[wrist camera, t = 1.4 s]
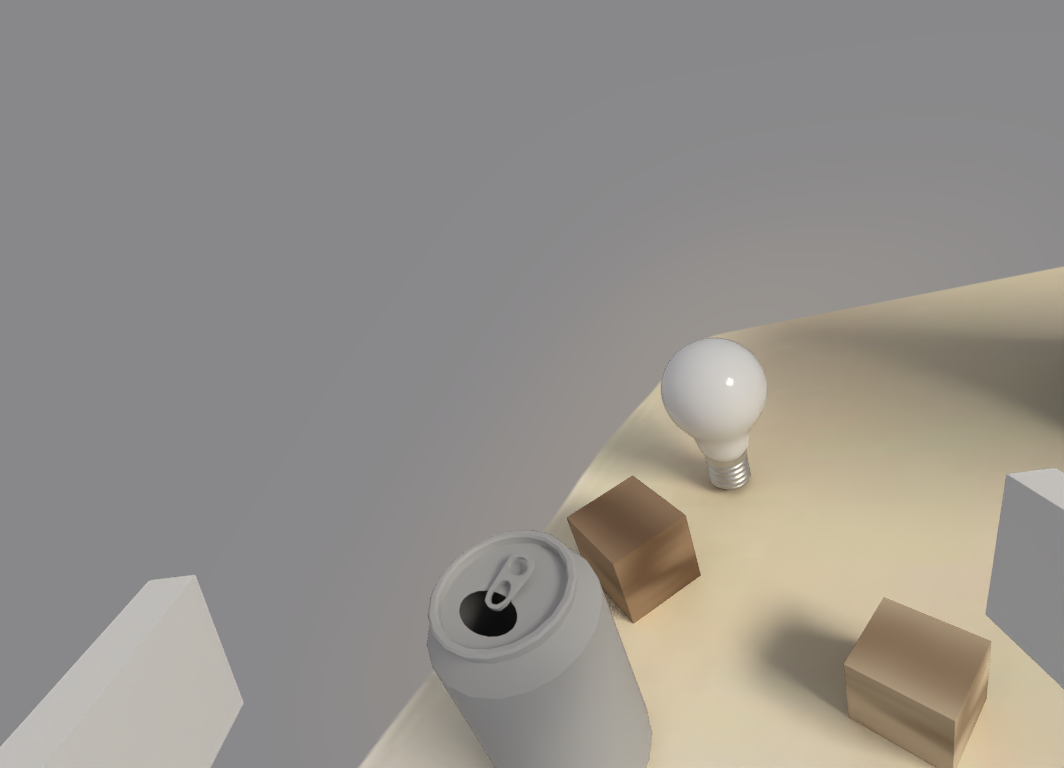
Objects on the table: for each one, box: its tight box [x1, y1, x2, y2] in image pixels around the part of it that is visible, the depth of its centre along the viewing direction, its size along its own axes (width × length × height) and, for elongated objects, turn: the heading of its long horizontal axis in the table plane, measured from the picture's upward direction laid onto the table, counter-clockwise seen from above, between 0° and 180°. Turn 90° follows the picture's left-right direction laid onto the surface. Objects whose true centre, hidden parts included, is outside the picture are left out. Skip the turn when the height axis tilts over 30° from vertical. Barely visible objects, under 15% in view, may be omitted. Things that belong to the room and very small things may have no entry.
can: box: [427, 530, 652, 768], centre depth 27 cm, size 8×8×12 cm
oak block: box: [844, 597, 991, 768], centre depth 26 cm, size 4×4×4 cm
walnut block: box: [567, 476, 701, 623], centre depth 36 cm, size 5×5×5 cm
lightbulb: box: [661, 338, 768, 489], centre depth 39 cm, size 6×6×11 cm
